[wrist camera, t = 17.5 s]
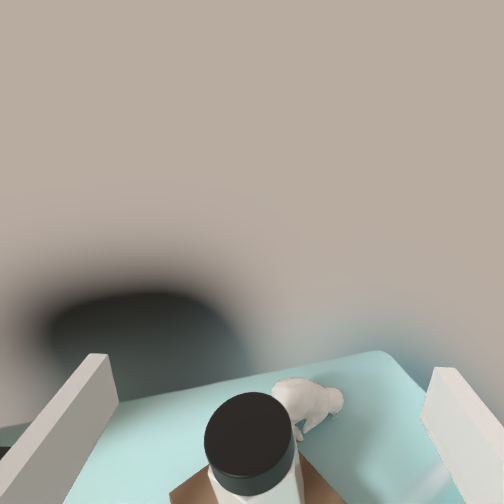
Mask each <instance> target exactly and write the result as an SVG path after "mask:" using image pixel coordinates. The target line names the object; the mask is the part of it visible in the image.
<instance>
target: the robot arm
mask: <svg viewBox="0 0 504 504" xmlns="http://www.w3.org/2000/svg"><path fill="white" fill-rule="evenodd" d="M118 404H119V400H118V395H117V391H116V387H115V383H114V379H113V375H112V370H111V366H110V362H109V357H108V355H107V354H89V355H88V356H87V358H86V359H85V360H84V361H83V362H82V364H81V365H80V366H79V367H78V368H77V370H76V371H75V372H74V373H73V374H72V376H71V377H70V378H69V379H68V380H67V381H66V383H65V384H64V385H63V386H62V387H61V389H60V390H59V391H58V392H57V394H56V395H55V396H54V397H53V398H52V399H51V401H50V402H49V403H48V404H47V405H46V407H45V408H44V409H43V410H42V411H41V413H40V414H39V415H38V416H37V417H36V419H35V420H34V421H33V422H32V423H31V424H30V426H29V427H28V428H27V429H26V430H25V432H24V433H23V434H22V435H21V436H20V438H19V439H18V440H17V441H16V442H15V444H14V445H13V446H12V447H0V504H62V503H63V501H64V500H65V498H66V496H67V494H68V493H69V491H70V489H71V487H72V485H73V484H74V482H75V480H76V478H77V477H78V475H79V473H80V471H81V470H82V468H83V466H84V464H85V463H86V461H87V459H88V457H89V456H90V454H91V452H92V450H93V448H94V447H95V445H96V443H97V441H98V440H99V438H100V436H101V434H102V433H103V431H104V429H105V427H106V426H107V424H108V422H109V420H110V419H111V417H112V415H113V413H114V411H115V410H116V408H117V406H118ZM419 418H420V420H421V421H422V423H423V425H424V427H425V429H426V431H427V433H428V434H429V436H430V438H431V440H432V442H433V444H434V445H435V447H436V449H437V451H438V453H439V455H440V457H441V458H442V460H443V462H444V464H445V466H446V468H447V470H448V471H449V473H450V475H451V477H452V479H453V481H454V483H455V484H456V486H457V488H458V490H459V492H460V494H461V495H462V497H463V499H464V501H465V503H466V504H504V428H503V426H502V425H501V424H500V423H499V421H498V420H497V419H496V418H495V416H494V415H493V414H492V413H491V411H490V410H489V409H488V408H487V407H486V405H485V404H484V403H483V402H482V400H481V399H480V398H479V397H478V396H477V394H476V393H475V392H474V391H473V389H472V388H471V387H470V386H469V384H468V383H467V382H466V381H465V380H464V378H463V377H462V376H461V375H460V373H459V372H458V371H457V370H456V368H448V367H447V368H445V367H434V371H433V374H432V378H431V381H430V384H429V387H428V391H427V394H426V397H425V400H424V404H423V407H422V410H421V414H420V417H419Z"/></svg>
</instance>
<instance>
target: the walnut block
mask: <svg viewBox="0 0 504 504" xmlns="http://www.w3.org/2000/svg"><path fill="white" fill-rule="evenodd" d="M298 454H299V460H300V465H301V471H302V476H303V482H304V499H305V504H346V503H345V502H344V501H343V500H342V499H341V497H340V496H339V495H338V494H337V493H336V492H335V491H334V490H333V489H332V487H331V486H330V485H329V484H328V483H327V482H326V481H325V480H324V479H323V477H322V476H321V475H320V474H319V473H318V472H317V471H316V470H315V468H314V467H313V466H312V465H311V464H310V463H309V462H308V461H307V460H306V458H305V457H304V456H303V455H302V454H301V453H300V452H299V451H298ZM208 469H209V464H208V465H207V466H206V467H204V468H203V469H201V470H200V471H199V472H197V473H196V474H195V475H193V476H192V477H191V478H189V479H188V480H186V481H185V482H184V483H182V484H181V485H180V486H178V487H177V488H176V489H174V490H173V491H172V492H170V493H169V496H170V502H171V504H219V503H218V500H217V498H216V495H215V492H214V490H213V487H212V484H211V482H210V479H209V477H208Z"/></svg>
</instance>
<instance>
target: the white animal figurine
mask: <svg viewBox="0 0 504 504" xmlns="http://www.w3.org/2000/svg"><path fill="white" fill-rule="evenodd" d="M271 393H272V396H273V397H274V398H275V399H277V400H278V401H279V402H280V403H281V404H282V405H283V406H284V407H285V409H286V410H287V412H288V414H289V417H290V420H291V424H293V427H294V432H295V438H296V440H297V441H303V435H302V433H301V431H300V430H299V428H298V427H297V426H295V423H298V422H299V421H301V420H302V419H306V423H305V425H304V427H303V429H302V431H303V433H304V434H306V433H307V432H308V431H309V430H311V429H312V428H313V427H315V426H316V425H318V424H319V423H321V422H322V421H323V419H324V418H326V417H327V415H328V413H331V414H333V418H334V420H335V416H336V417H337V416H338V415H337V414H338V413H337V412H338V411H340V410H341V408H342V407H343V404H344V398H343V395H342V393H341V392H340V390H338V389H337V388H333V387H326V388H324V387H321V386H320V385H319V384H315V382H313V381H311V380H308V379H304V378H286V379H282V380H280V381H278V382H277V383H276V384H275V386H274V387H273V388H272V390H271ZM331 417H332V416H331ZM332 421H333V420H332Z"/></svg>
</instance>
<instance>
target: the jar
mask: <svg viewBox="0 0 504 504" xmlns="http://www.w3.org/2000/svg"><path fill="white" fill-rule="evenodd" d="M204 448H205V453H206V456H207V459H208V462H209V469H208V477H209V479H210V482H211V484H212V487H213V490H214V492H215V495H216V498H217V500H218V503H219V504H305V499H304V482H303V476H302V471H301V465H300V460H299V454H298V449H297V443H296V438H295V432H294V427H293V424H291V420H290V417H289V414H288V412H287V410H286V409H285V407H284V406H283V405H282V404H281V403H280V402H279V401H278V400H277V399H275V398H274V397H272V396H270V395H267V394H264V393H259V392H249V393H243V394H239V395H237V396H234V397H232V398H230V399H229V400H227V401H226V402H224V403H223V404H222V405H221V406H220V407H219V408H218V409H217V410H216V411H215V412H214V414H213V415H212V417H211V418H210V420H209V422H208V424H207V427H206V431H205V435H204Z"/></svg>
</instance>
